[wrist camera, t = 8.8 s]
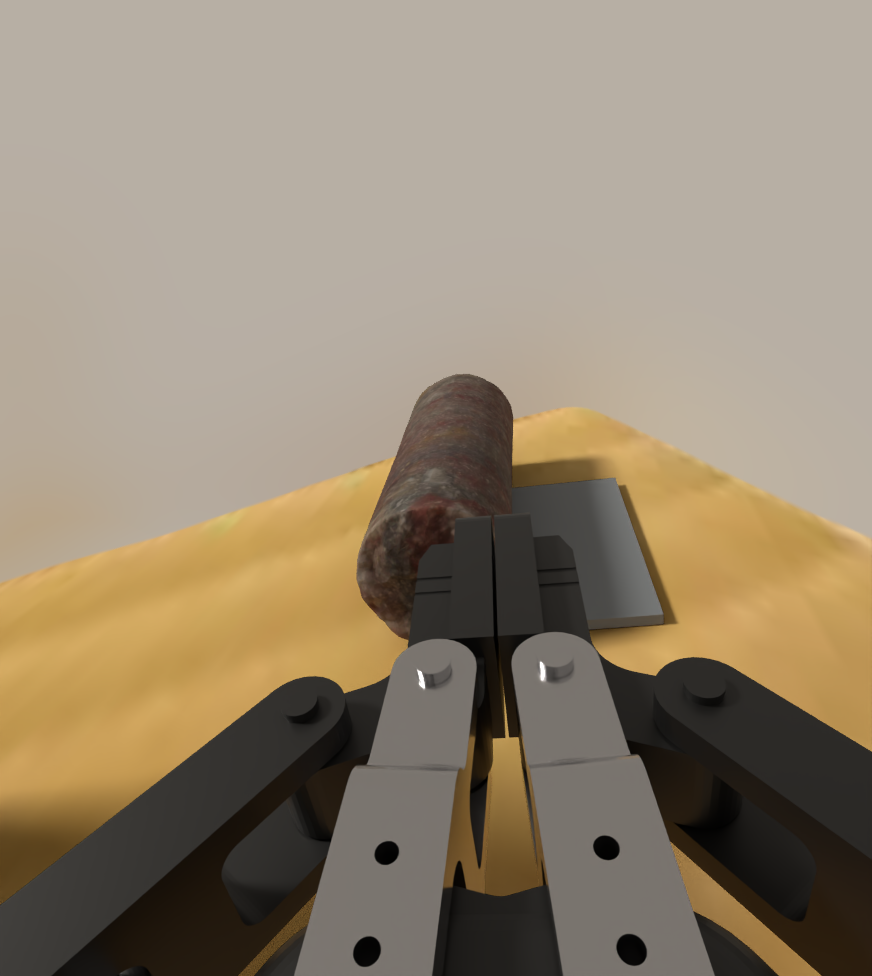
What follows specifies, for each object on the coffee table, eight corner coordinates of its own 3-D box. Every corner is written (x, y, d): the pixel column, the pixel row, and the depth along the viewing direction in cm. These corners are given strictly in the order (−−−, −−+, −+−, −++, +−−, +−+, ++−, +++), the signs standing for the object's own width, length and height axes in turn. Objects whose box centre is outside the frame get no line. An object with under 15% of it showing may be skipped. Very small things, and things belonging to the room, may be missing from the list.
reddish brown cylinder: (547, 564, 30) (532, 402, 48) (401, 485, 29) (441, 349, 47) (460, 673, 34) (476, 484, 51) (326, 607, 32) (389, 437, 50)
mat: (439, 640, 35) (437, 631, 34) (451, 501, 47) (450, 494, 46) (663, 624, 33) (663, 614, 33) (615, 485, 45) (615, 477, 45)
